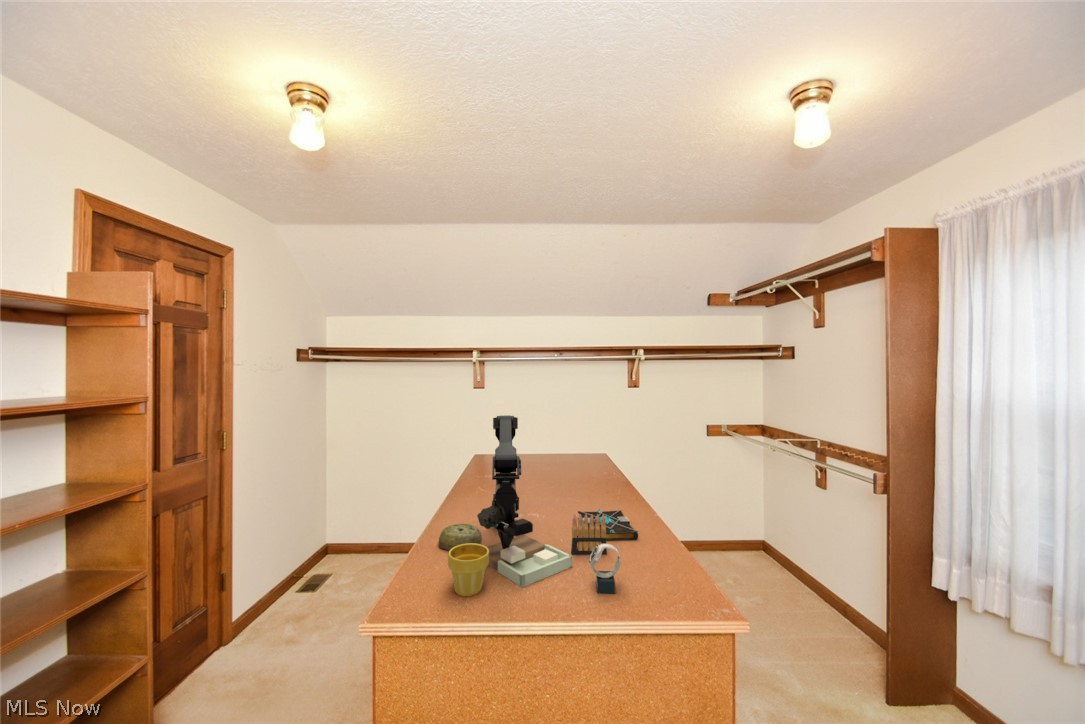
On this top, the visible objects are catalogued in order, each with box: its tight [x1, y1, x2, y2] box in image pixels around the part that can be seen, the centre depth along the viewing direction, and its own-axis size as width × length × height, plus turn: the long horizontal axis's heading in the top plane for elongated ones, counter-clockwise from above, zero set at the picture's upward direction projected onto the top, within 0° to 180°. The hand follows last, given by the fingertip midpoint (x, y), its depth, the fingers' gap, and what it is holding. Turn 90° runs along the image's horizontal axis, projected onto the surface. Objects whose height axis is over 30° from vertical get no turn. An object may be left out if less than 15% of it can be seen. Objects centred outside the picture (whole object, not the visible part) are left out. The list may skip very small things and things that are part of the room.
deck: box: [486, 534, 545, 573], centre depth 130 cm, size 11×18×2 cm, turn 130°
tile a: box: [534, 549, 558, 565], centre depth 126 cm, size 5×5×2 cm
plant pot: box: [447, 543, 489, 597], centre depth 111 cm, size 10×10×10 cm
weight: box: [438, 523, 483, 551], centre depth 140 cm, size 14×13×5 cm
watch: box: [588, 543, 622, 595], centre depth 112 cm, size 6×8×11 cm
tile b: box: [501, 546, 525, 564], centre depth 124 cm, size 5×5×2 cm
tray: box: [497, 543, 573, 588], centre depth 122 cm, size 11×18×3 cm, turn 130°
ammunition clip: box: [570, 513, 608, 556], centre depth 133 cm, size 11×2×12 cm, turn 91°
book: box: [577, 508, 639, 541], centre depth 153 cm, size 22×17×5 cm
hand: (505, 550), depth 126 cm, fingers closed
